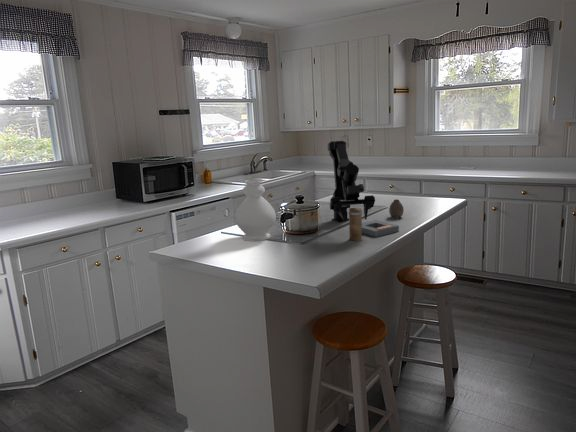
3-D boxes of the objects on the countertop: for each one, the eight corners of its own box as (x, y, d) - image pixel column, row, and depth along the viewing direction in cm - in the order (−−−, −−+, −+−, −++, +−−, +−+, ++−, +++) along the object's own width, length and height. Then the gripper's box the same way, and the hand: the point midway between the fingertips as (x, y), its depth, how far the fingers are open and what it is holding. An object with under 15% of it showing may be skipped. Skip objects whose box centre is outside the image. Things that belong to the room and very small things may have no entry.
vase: (387, 218, 228) (387, 200, 226) (391, 215, 234) (391, 198, 232) (401, 219, 224) (401, 201, 222) (404, 216, 230) (405, 198, 228)
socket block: (353, 230, 208) (353, 224, 207) (376, 225, 215) (376, 219, 214) (375, 236, 196) (375, 230, 196) (398, 231, 204) (398, 225, 203)
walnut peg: (346, 239, 195) (346, 208, 192) (356, 236, 198) (355, 207, 195) (355, 241, 191) (354, 210, 188) (364, 239, 193) (364, 209, 190)
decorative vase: (248, 245, 191) (244, 185, 186) (229, 236, 206) (225, 181, 200) (284, 237, 201) (282, 180, 195) (263, 229, 215) (260, 176, 210)
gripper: (330, 178, 194) (334, 209, 185) (374, 176, 195) (380, 207, 186) (327, 194, 203) (332, 224, 195) (369, 191, 204) (375, 222, 196)
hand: (355, 219), depth 193 cm, fingers open, 9 cm apart
